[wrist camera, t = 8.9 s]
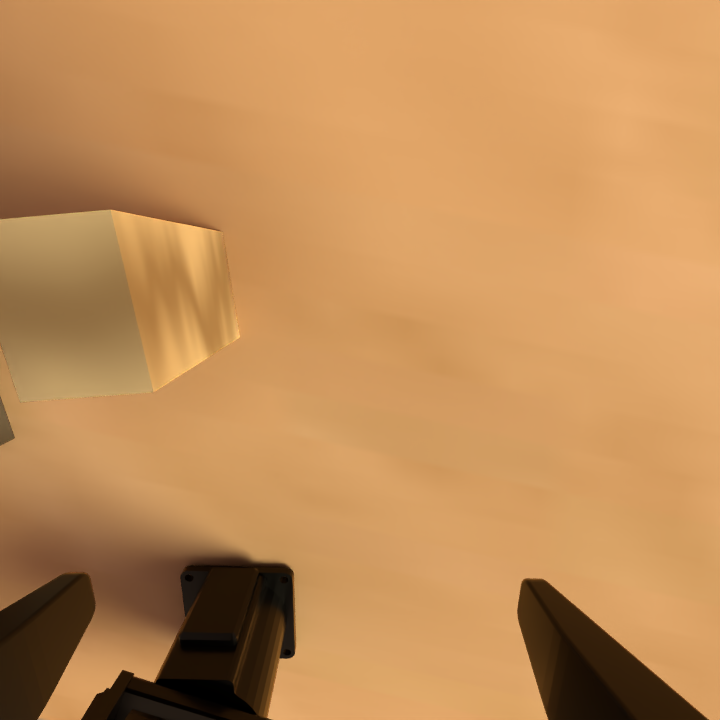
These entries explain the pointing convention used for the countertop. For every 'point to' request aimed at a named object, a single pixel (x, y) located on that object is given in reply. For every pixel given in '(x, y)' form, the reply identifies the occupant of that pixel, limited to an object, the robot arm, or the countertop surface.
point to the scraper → (108, 304)
